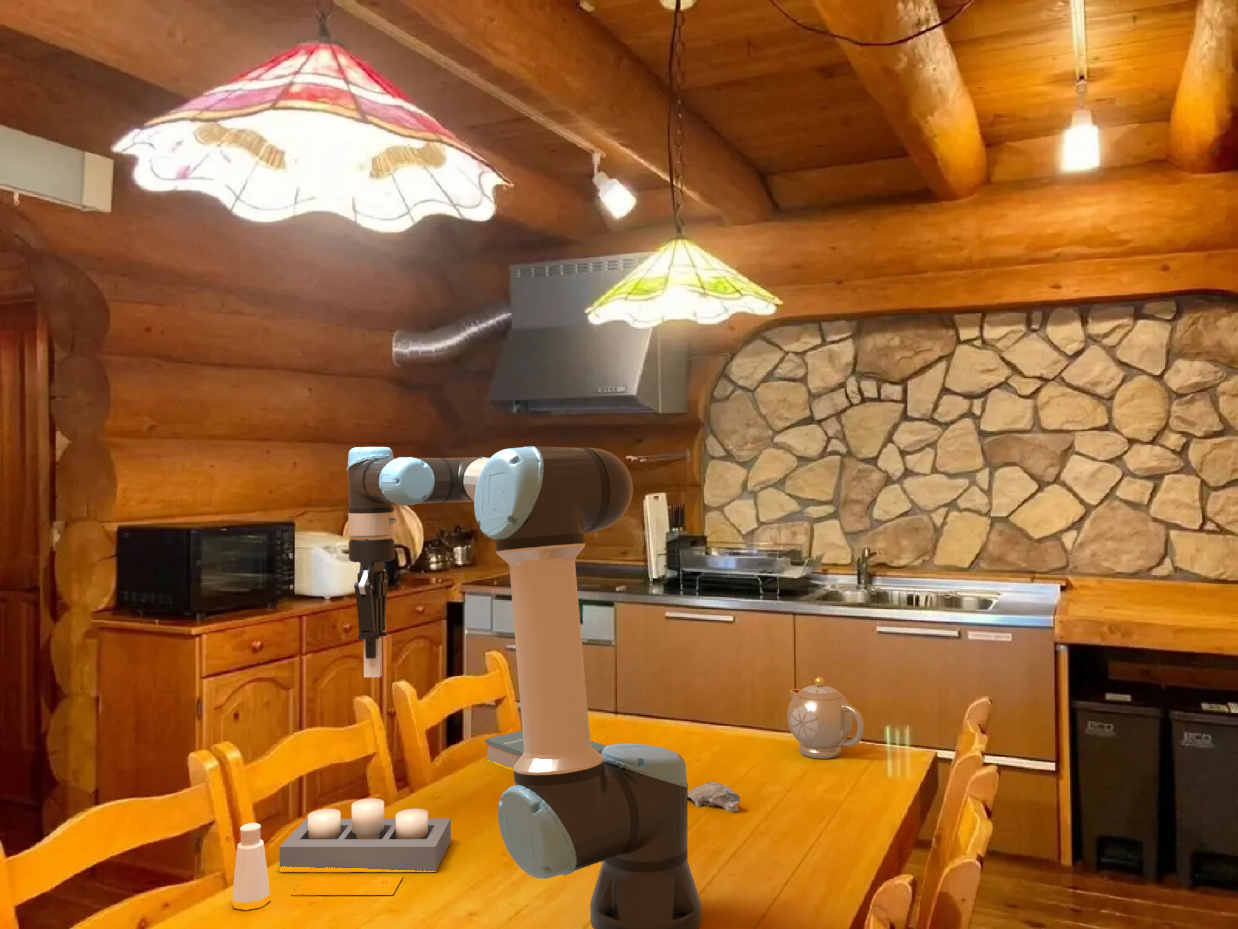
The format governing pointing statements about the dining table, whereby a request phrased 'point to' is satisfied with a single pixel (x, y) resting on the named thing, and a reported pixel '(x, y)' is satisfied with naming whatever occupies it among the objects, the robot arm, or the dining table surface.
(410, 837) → the button
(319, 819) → the button
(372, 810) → the button mid
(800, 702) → the teapot
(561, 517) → the robot arm
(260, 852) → the salt shaker
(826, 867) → the dining table surface
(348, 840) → the gray compartment tray
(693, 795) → the stone
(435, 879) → the dining table surface
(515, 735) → the book
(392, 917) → the dining table surface
